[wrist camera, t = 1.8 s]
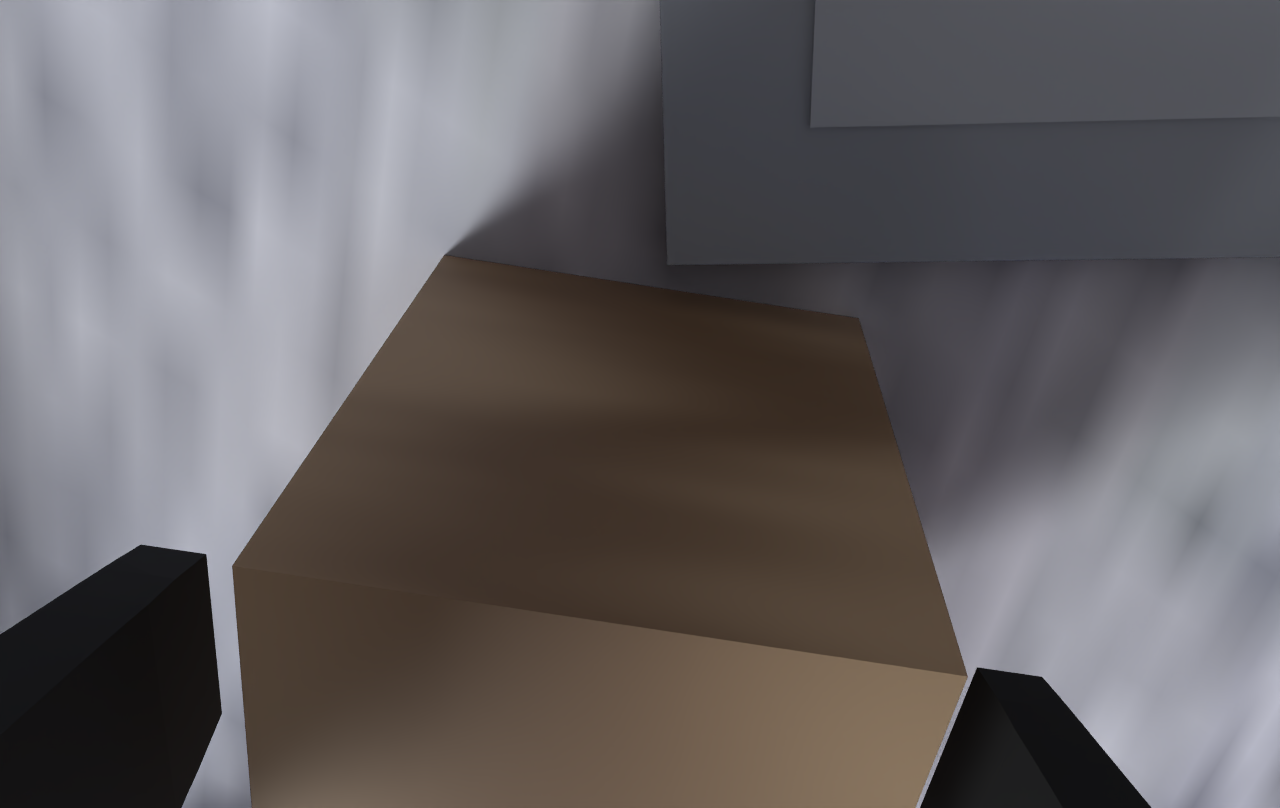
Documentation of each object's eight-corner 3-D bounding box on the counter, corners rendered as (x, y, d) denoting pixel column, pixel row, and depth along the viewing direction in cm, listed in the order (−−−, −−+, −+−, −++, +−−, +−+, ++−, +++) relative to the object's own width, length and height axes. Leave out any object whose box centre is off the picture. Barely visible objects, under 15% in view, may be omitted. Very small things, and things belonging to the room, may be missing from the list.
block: (858, 316, 12) (966, 677, 7) (774, 631, 14) (806, 1074, 9) (445, 254, 12) (232, 566, 7) (431, 579, 14) (266, 996, 9)
